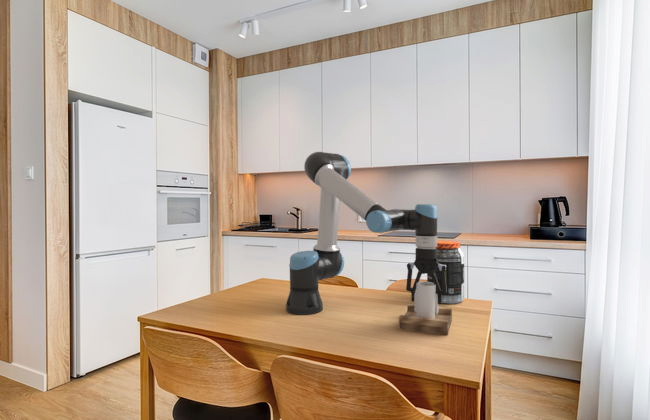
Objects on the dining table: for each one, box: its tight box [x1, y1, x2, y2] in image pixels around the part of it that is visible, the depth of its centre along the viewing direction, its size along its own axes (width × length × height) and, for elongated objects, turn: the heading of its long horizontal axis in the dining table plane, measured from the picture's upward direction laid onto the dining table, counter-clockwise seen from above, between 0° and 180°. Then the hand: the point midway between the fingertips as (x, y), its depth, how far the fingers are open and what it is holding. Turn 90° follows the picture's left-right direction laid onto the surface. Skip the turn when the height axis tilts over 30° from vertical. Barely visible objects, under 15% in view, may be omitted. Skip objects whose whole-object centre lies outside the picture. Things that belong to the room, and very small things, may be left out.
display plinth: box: [398, 303, 453, 336], centre depth 136 cm, size 16×17×4 cm
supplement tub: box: [426, 240, 465, 304], centre depth 168 cm, size 16×16×26 cm
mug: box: [415, 281, 436, 319], centre depth 136 cm, size 10×7×12 cm, turn 141°
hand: (426, 311), depth 136 cm, fingers closed on mug, 6 cm apart
